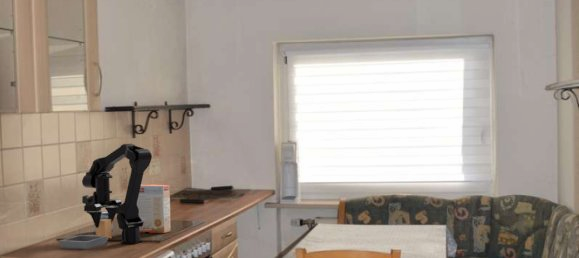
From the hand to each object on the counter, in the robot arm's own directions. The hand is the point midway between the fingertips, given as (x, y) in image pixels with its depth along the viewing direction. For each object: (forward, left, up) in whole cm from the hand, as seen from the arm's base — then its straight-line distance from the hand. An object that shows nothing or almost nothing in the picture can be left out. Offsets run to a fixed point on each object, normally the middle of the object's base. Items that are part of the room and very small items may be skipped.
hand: (103, 225), depth 300 cm
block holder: (-2, +16, -6) cm, 17 cm away
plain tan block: (0, 0, -6) cm, 6 cm away
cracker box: (-12, -20, -6) cm, 24 cm away
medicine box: (+11, -15, -6) cm, 20 cm away
